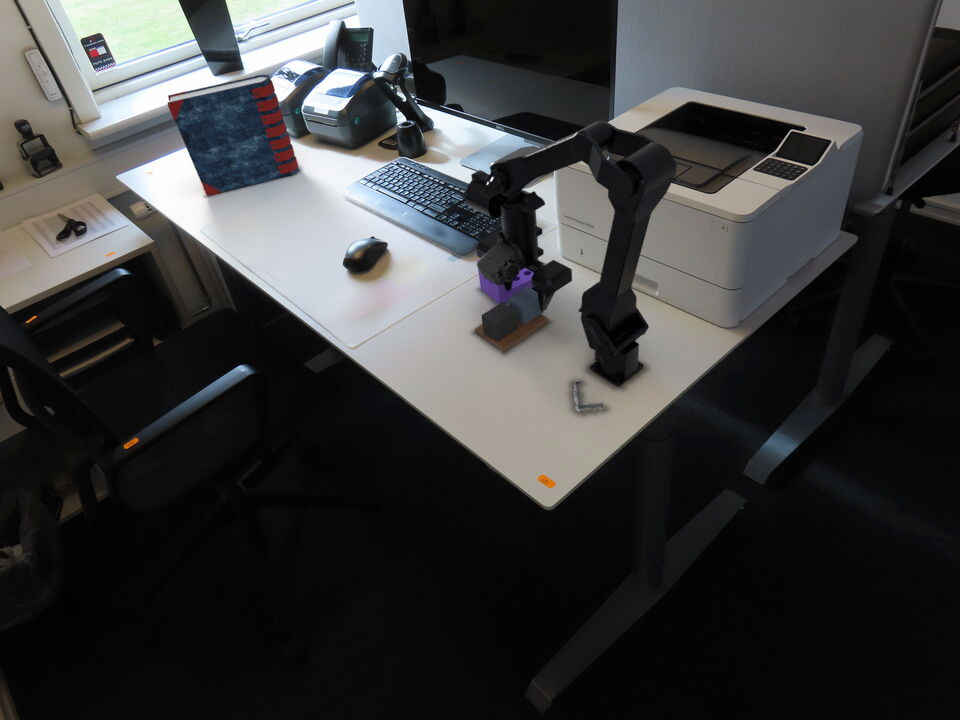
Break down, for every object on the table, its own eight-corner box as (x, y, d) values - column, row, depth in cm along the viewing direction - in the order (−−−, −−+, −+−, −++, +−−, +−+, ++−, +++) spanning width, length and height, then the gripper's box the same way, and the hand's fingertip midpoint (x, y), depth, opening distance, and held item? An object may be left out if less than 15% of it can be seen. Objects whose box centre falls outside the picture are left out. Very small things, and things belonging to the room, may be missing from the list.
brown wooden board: (548, 322, 122) (548, 318, 122) (504, 352, 118) (503, 348, 117) (518, 304, 127) (518, 300, 127) (474, 333, 123) (474, 328, 122)
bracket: (500, 305, 128) (496, 276, 123) (480, 289, 132) (476, 260, 128) (550, 280, 132) (548, 251, 127) (529, 265, 136) (527, 236, 132)
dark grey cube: (518, 328, 121) (517, 311, 118) (498, 342, 119) (496, 324, 116) (503, 319, 123) (501, 301, 120) (483, 332, 121) (481, 315, 118)
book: (298, 163, 185) (269, 71, 168) (301, 173, 180) (271, 80, 163) (206, 186, 181) (167, 94, 164) (206, 197, 176) (166, 103, 159)
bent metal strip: (611, 397, 105) (590, 413, 103) (611, 403, 106) (590, 419, 104) (577, 376, 110) (556, 391, 108) (577, 382, 111) (556, 397, 108)
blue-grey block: (544, 311, 123) (543, 294, 121) (524, 324, 121) (522, 307, 118) (529, 303, 126) (527, 285, 123) (509, 315, 124) (507, 298, 121)
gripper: (447, 227, 113) (459, 300, 124) (522, 268, 102) (529, 344, 112) (496, 200, 118) (504, 273, 129) (573, 237, 107) (575, 313, 117)
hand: (525, 300), depth 122 cm, fingers open, 9 cm apart
